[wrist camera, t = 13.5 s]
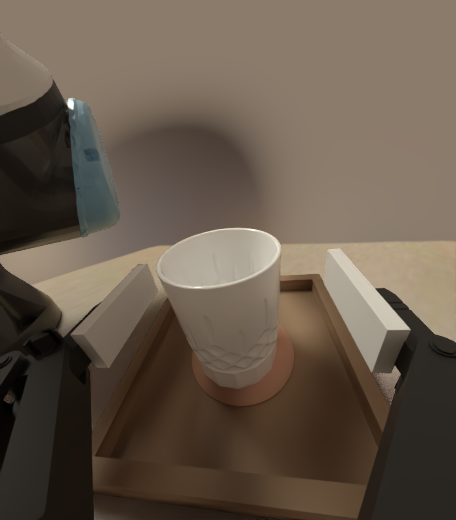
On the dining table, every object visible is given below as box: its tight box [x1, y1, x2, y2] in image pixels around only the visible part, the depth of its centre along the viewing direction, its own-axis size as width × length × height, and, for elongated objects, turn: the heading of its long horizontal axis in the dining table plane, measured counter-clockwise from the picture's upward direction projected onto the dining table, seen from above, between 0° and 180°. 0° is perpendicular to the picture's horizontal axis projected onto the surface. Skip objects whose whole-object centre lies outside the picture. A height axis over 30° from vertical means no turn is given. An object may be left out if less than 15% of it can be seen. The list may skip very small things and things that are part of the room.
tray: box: [92, 274, 390, 520], centre depth 17 cm, size 18×18×2 cm
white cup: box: [156, 228, 281, 389], centre depth 15 cm, size 8×8×10 cm
